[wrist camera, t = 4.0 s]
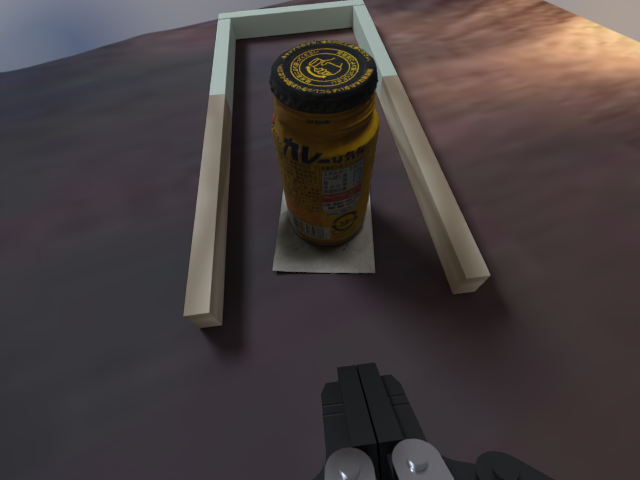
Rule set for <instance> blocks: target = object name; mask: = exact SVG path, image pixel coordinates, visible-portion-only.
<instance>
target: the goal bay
mask: <svg viewBox="0 0 640 480" xmlns="http://www.w3.org/2000/svg"><path fill="white" fill-rule="evenodd" d="M218 19H219V20H218V27H217V35H216V44H215V52H214V61H213V69H212V78H211V86H210V95H218V94H225V95H226V99H227V102H228V105H229V108H230V111H231V114H232V110H233V89H234V68H235V47H236V39H245V38H254V37H264V36H274V35H283V34H293V33H302V32H312V31H322V30H331V29H341V28H350V27H352V29H353V32H354V34H355V37H356V40H357V42H358V45H359V48H361V49H363V50H364V51H366V52H367V54H369V55H370V56H371V57H372V58H373V59H374V61H375V63H376V67H377V73H378V82H377V88H376V92H377V95H378V98H380V91H381V83H382V76H391V75H397V73H396V71H395V69H394V66H393V64H392V62H391V60H390V58H389V56H388V54H387V51H386V49H385V47H384V45H383V43H382V41H381V38H380V36H379V34H378V32H377V30H376V28H375V26H374V23H373V21H372V19H371V17H370V15H369V13H368V11H367V8H366V6H365V5H364V2H363V0H348V1H339V2H329V3H319V4H309V5H299V6H289V7H279V8H269V9H260V10H250V11H240V12H230V13H220V14H219V18H218Z"/></svg>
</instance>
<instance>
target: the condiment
mask: <svg viewBox="0 0 640 480" xmlns="http://www.w3.org/2000/svg"><path fill="white" fill-rule="evenodd" d="M377 82H378V73H377V67H376V63H375V61H374V59H373V58H372V57H371V56H370V55H369V54H367V52H366V51H364V50H363V49H361V48H359V47H357V46H354V45H352V44H349V43H344V42H338V41H327V40H323V41H313V42H309V43H305V44H300V45H298V46H295V47H293V48H291V49H290V50H288V51H286V52H284V53H283V54H282V55H280V56H279V58H278V59H277V60H276V61H275V62H274V64H273V65H272V68H271V75H270V82H269V83H270V86H271V91H272V92H273V94H274V96H273V103H274V111H275V113H274V115H273V117H272V128H271V130H272V135H273V140H274V145H275V150H276V155H277V159H278V164H279V169H280V174H281V179H282V185H283V197H282V204H281V213H280V220H279V226H278V234H277V240H276V249H275V256H274V263H273V271H286V272H316V273H375V261H374V246H373V233H372V220H371V204H370V186H371V185H370V182H371V177H372V170H373V162H374V158H375V150H376V143H377V137H378V131H379V118H378V114H377V111H376V109H375V104H376V91H375V90H376V88H377ZM294 236H295V237H294ZM347 244H349V246H346V245H347ZM343 248H346V249H345V250H344V251H342V249H343Z"/></svg>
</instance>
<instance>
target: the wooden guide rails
mask: <svg viewBox="0 0 640 480" xmlns="http://www.w3.org/2000/svg"><path fill="white" fill-rule="evenodd" d="M379 100H380V103H381V106H382V108H383V111H384V114H385V116H386V119H387V122H388V124H389V127H390V129H391V132H392V135H393V137H394V140H395V143H396V145H397V148H398V151H399V153H400V156H401V158H402V161H403V164H404V166H405V169H406V172H407V174H408V177H409V180H410V182H411V185H412V188H413V190H414V193H415V195H416V198H417V201H418V203H419V206H420V209H421V211H422V214H423V217H424V219H425V222H426V225H427V227H428V230H429V232H430V235H431V238H432V240H433V243H434V246H435V248H436V251H437V254H438V256H439V259H440V262H441V264H442V267H443V269H444V272H445V275H446V277H447V280H448V283H449V285H450V288H451V291H452V293H453V294H460V293H467V292H475V291H476V290H477V289H478V288H479V287H480V286H481V285H482V284H483V283H484V282H485V281H486V280H487V279H488V278H489V277H490V276H491V275H490V273H489V271H488V269H487V266H486V264H485V262H484V260H483V258H482V256H481V254H480V251H479V249H478V247H477V245H476V243H475V241H474V238H473V236H472V234H471V232H470V230H469V228H468V226H467V223H466V221H465V219H464V217H463V215H462V213H461V211H460V208H459V206H458V204H457V202H456V200H455V198H454V195H453V193H452V191H451V189H450V187H449V185H448V183H447V180H446V178H445V176H444V174H443V172H442V170H441V168H440V165H439V163H438V161H437V159H436V157H435V155H434V152H433V150H432V148H431V146H430V144H429V142H428V140H427V137H426V135H425V133H424V131H423V129H422V127H421V125H420V122H419V120H418V118H417V116H416V114H415V112H414V109H413V107H412V105H411V103H410V101H409V99H408V97H407V94H406V92H405V90H404V88H403V86H402V84H401V81H400V79H399V77H398V75H391V76H382V83H381V91H380V98H379ZM231 131H232V114H231V111H230V108H229V105H228V102H227V99H226V95H225V94H218V95H209V103H208V112H207V120H206V129H205V137H204V146H203V154H202V163H201V171H200V180H199V188H198V197H197V205H196V214H195V222H194V231H193V239H192V248H191V256H190V265H189V273H188V282H187V290H186V299H185V307H184V317H185V318H187V319H188V320H189V321H191V322H192V323H193V324H195V325H196V326H197V327H198V328H205V327H212V326H220V325H222V321H223V300H224V279H225V258H226V237H227V216H228V195H229V174H230V153H231Z"/></svg>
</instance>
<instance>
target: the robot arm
mask: <svg viewBox="0 0 640 480" xmlns="http://www.w3.org/2000/svg"><path fill="white" fill-rule="evenodd" d="M337 371H338V381H339V382H332V383H326V384H325V386H324V389H323V391H322V393H321V397H322V409H323V421H324V433H325V445H326V461H325V464H324V467H323V469H322V470H321V472H320V473H319V474H318V475H317V476H316V477H315V478H314V479H313V480H554V479H552V478H550V477H549V476H547V475H545V474H543V473H541V472H540V471H538V470H536V469H534V468H533V467H531V466H529V465H527V464H525V463H524V462H522V461H520V460H518V459H516V458H515V457H513V456H511V455H508V454H506V453H502V452H496V451H490V452H486V453H483V454H482V455H480V456H479V457H478V459H477V461H476V464H471V463H466V462H460V461H455V460H451V459H448V458H446V457H444V456H442V455H440V454H439V452H438V451H437V450H436V449H435V448H434V447H433V446H432V445H430V444H429V443H428V442H427V440H426V438H425V436H424V434H423V431H422V429H421V427H420V425H419V423H418V421H417V418H416V416H415V414H414V412H413V410H412V408H411V405H410V404H409V401H408V399H407V397H406V396H405V392H404V390H403V388H402V386H401V384H400V382H399V381H397V380H396V379H395V378H394V377H393V376H392V375H384V376H380V374H379V372H378V369H377V366H376V364H375V363H368V364H360V365H356V366H355V365H353V366H346V367H338V368H337Z"/></svg>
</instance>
